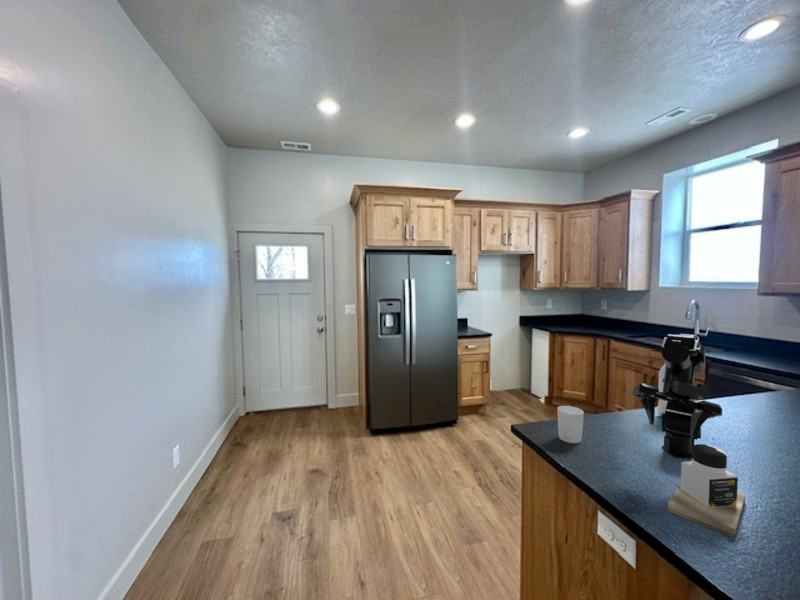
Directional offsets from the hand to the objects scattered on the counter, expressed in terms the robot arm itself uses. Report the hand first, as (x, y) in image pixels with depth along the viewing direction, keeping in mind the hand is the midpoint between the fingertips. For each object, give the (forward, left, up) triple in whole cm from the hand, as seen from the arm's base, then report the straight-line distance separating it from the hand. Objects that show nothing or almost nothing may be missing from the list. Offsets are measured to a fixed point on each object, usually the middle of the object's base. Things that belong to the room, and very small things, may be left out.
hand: (671, 431), depth 91 cm
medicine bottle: (-1, +12, -11) cm, 16 cm away
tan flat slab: (-1, +12, -13) cm, 18 cm away
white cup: (+19, -21, -13) cm, 31 cm away
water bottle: (-26, -45, -13) cm, 53 cm away
